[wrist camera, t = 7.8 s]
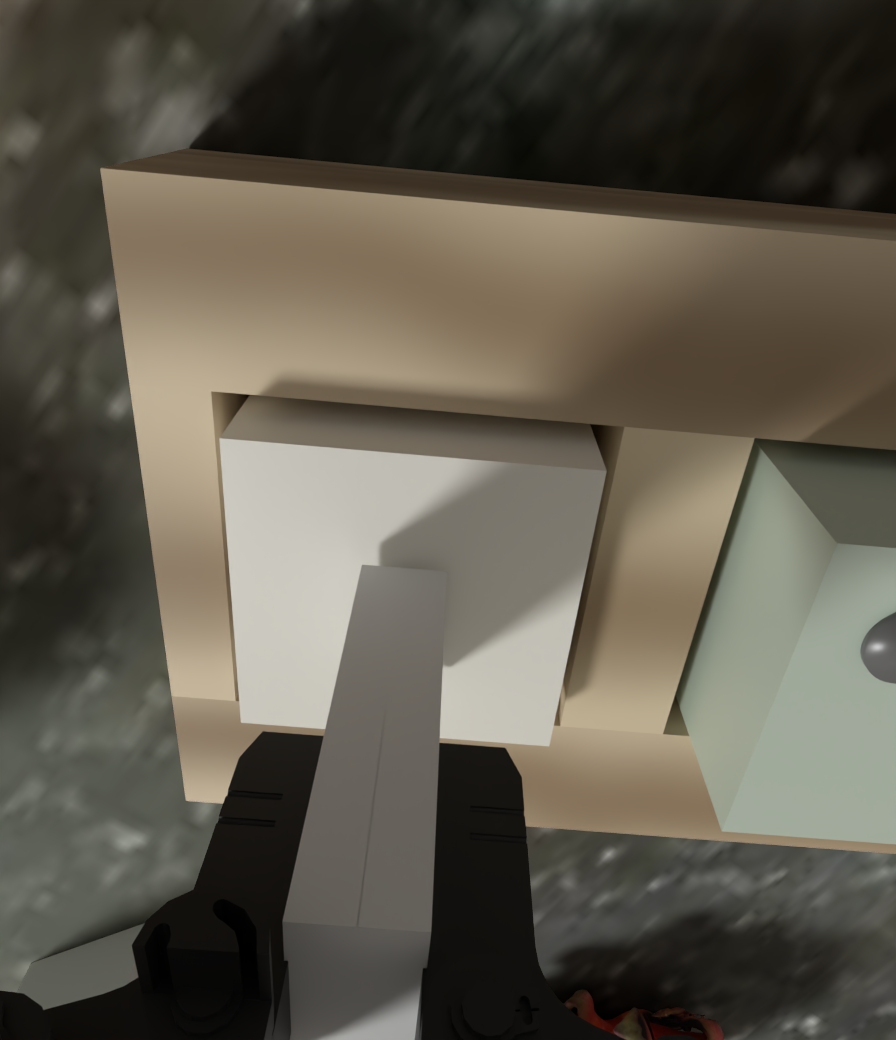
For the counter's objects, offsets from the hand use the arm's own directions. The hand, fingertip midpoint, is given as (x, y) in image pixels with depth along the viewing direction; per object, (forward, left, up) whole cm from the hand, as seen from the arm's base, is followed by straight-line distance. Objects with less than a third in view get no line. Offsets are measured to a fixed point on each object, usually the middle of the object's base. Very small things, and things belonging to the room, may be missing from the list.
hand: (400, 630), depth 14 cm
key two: (0, +10, -3) cm, 10 cm away
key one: (0, 0, -4) cm, 4 cm away
